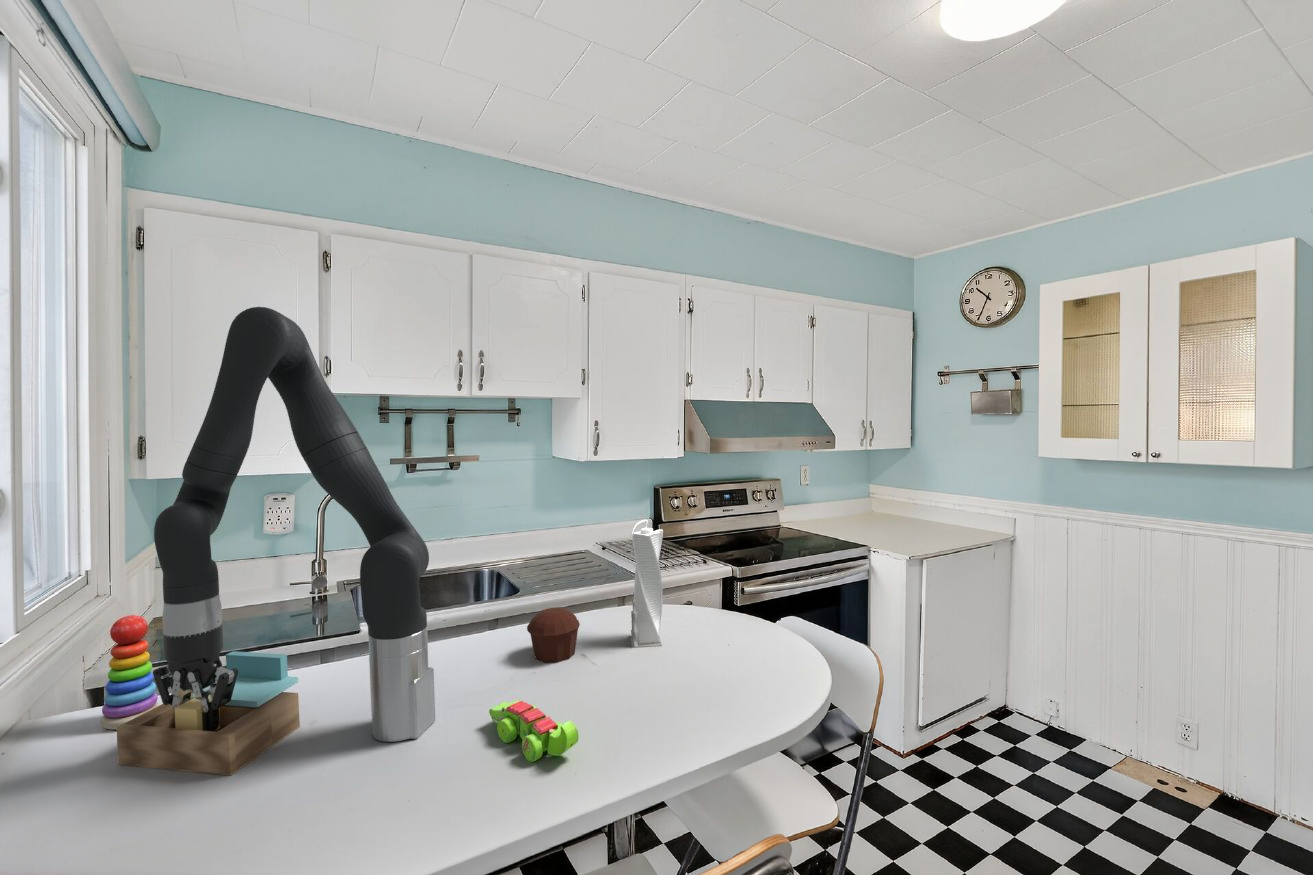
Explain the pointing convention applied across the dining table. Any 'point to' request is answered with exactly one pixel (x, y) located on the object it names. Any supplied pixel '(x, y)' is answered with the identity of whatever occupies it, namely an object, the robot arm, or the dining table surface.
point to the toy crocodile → (533, 729)
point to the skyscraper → (646, 588)
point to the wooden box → (207, 737)
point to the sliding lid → (257, 677)
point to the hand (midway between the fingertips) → (198, 729)
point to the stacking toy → (128, 674)
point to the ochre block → (190, 715)
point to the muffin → (553, 635)
